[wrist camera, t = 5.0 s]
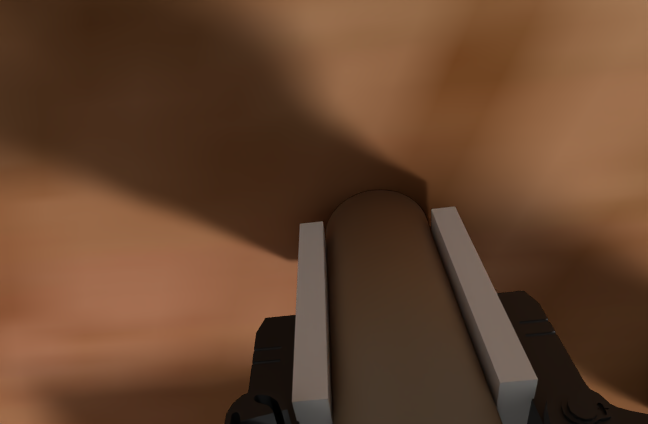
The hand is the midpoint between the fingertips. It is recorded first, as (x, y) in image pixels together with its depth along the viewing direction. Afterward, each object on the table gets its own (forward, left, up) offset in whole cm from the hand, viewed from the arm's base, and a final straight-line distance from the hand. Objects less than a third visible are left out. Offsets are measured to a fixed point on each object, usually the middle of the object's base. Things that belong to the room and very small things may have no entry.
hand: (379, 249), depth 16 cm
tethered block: (+9, 0, -1) cm, 9 cm away
